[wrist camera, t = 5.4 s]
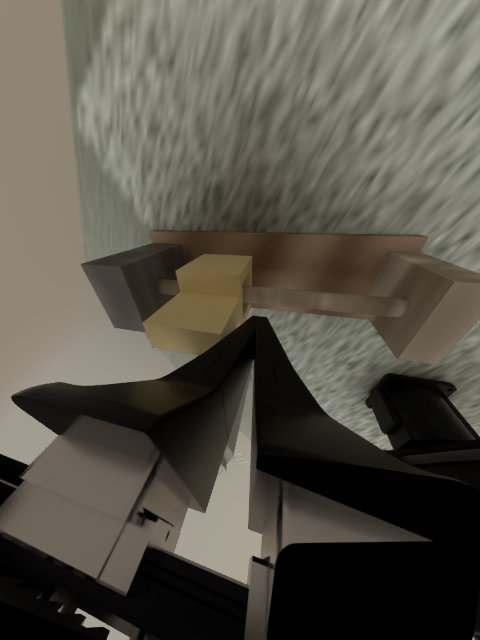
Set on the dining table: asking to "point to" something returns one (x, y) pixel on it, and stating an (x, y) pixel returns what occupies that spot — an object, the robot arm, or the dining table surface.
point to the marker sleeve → (202, 304)
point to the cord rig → (308, 282)
